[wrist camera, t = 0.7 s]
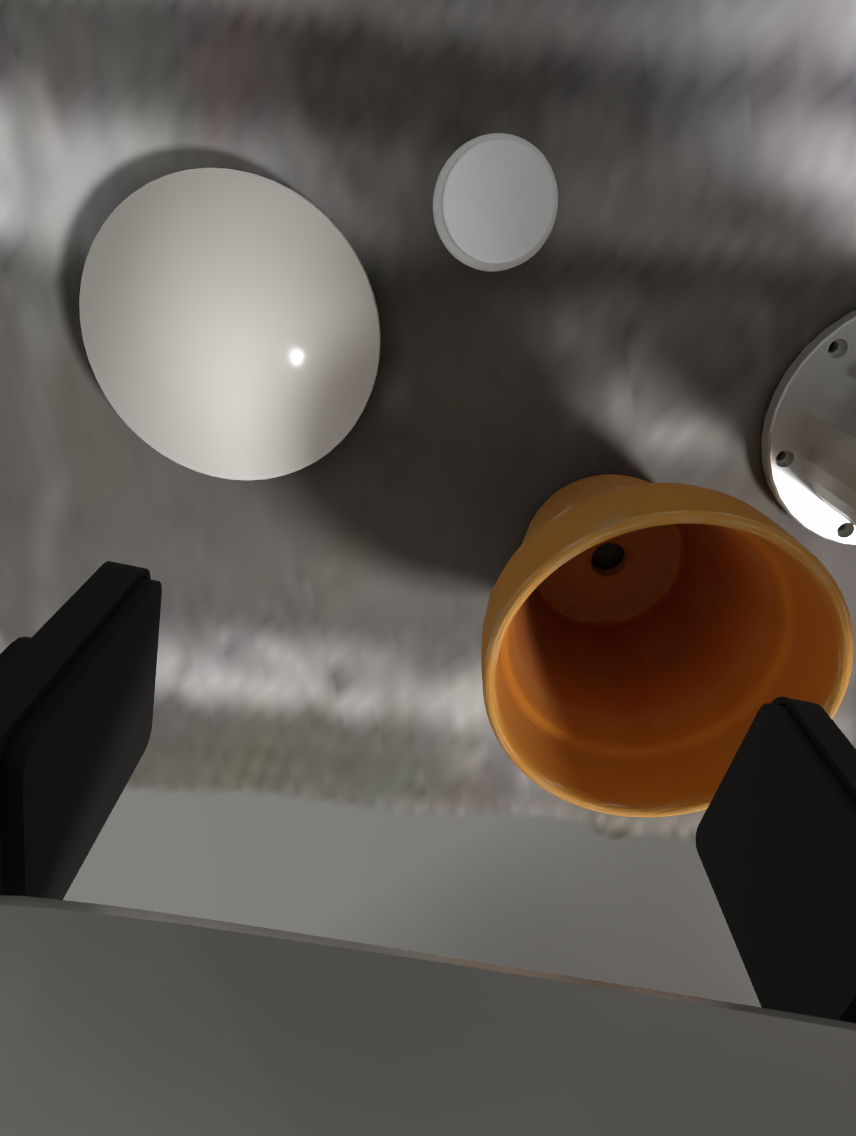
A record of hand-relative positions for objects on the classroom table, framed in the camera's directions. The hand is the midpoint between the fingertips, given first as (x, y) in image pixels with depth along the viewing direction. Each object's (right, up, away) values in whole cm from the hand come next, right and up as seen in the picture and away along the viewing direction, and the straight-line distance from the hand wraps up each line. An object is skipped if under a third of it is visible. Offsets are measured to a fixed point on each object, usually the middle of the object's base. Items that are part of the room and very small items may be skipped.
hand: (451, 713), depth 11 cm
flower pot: (+9, +3, +29) cm, 31 cm away
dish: (-10, +14, +24) cm, 29 cm away
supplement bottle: (+2, +19, +22) cm, 29 cm away
